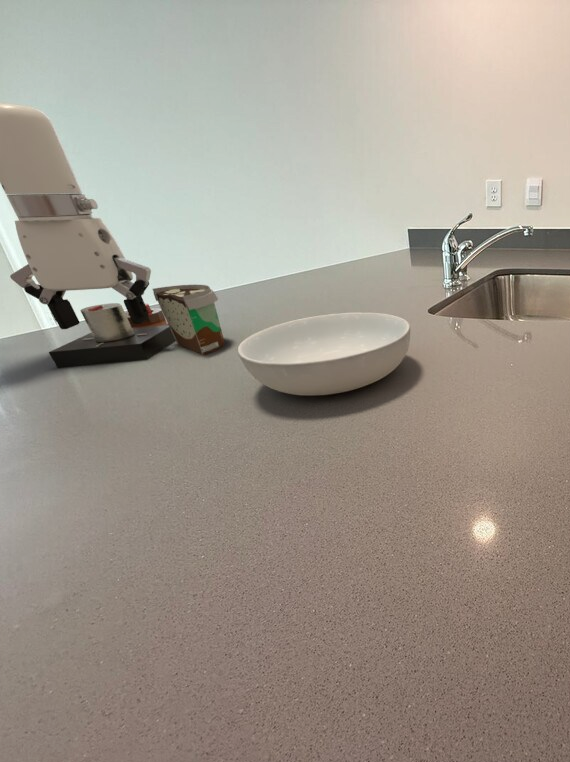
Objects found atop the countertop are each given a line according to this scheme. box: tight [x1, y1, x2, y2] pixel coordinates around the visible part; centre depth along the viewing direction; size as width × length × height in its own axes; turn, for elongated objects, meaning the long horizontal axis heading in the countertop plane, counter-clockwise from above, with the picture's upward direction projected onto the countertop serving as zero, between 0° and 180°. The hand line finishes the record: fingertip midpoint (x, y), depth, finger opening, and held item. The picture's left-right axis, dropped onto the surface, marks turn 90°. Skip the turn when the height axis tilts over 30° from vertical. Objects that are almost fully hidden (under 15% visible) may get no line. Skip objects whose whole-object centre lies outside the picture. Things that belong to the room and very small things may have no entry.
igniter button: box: [145, 303, 152, 313], centre depth 76 cm, size 3×3×2 cm
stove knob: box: [80, 302, 134, 342], centre depth 65 cm, size 5×5×5 cm
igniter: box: [125, 307, 168, 328], centre depth 77 cm, size 10×8×4 cm
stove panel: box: [48, 325, 176, 369], centre depth 67 cm, size 12×10×3 cm
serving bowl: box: [237, 312, 411, 396], centre depth 55 cm, size 21×21×7 cm
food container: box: [152, 284, 226, 356], centre depth 68 cm, size 12×6×10 cm, turn 58°
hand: (106, 324), depth 65 cm, fingers open, 9 cm apart
